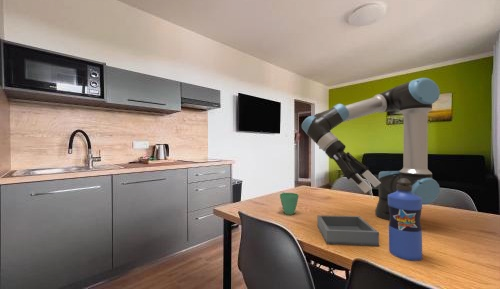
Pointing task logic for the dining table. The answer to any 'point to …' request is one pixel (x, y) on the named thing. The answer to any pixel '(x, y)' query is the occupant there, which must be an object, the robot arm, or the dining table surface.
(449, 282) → the dining table surface
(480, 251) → the dining table surface
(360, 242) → the tray
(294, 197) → the mug
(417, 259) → the blue plastic bottle
